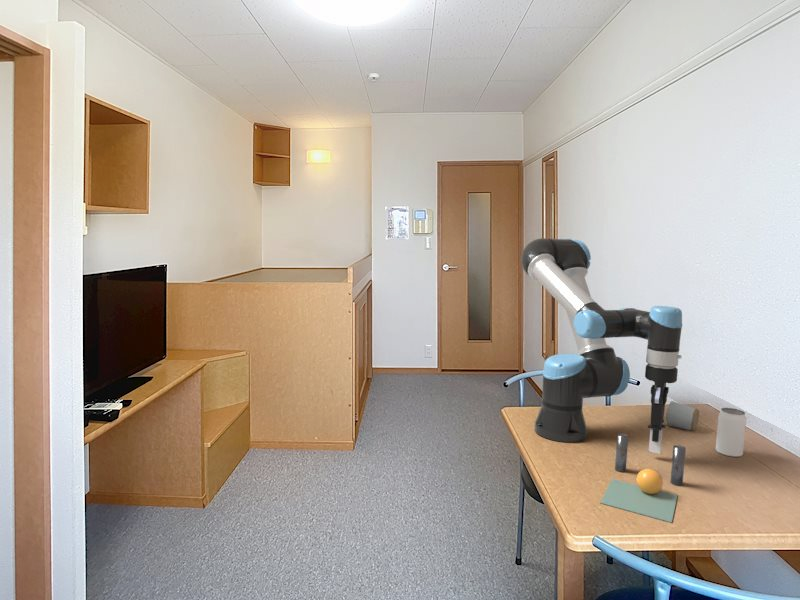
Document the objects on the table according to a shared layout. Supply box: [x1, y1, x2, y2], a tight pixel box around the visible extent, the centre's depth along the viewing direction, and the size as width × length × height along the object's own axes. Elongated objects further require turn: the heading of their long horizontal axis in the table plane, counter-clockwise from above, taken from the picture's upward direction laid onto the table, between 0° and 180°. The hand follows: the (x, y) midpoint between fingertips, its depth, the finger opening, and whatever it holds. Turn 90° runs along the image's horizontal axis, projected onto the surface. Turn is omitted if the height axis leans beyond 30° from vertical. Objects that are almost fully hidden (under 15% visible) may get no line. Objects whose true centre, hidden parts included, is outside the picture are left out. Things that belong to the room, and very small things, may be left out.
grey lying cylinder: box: [665, 400, 700, 431], centre depth 164 cm, size 11×8×8 cm
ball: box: [636, 468, 664, 494], centre depth 118 cm, size 6×6×6 cm
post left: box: [614, 433, 630, 473], centre depth 130 cm, size 3×3×9 cm
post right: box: [670, 444, 687, 487], centre depth 123 cm, size 3×3×9 cm
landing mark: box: [600, 478, 678, 524], centre depth 116 cm, size 14×14×1 cm
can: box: [715, 407, 747, 458], centre depth 143 cm, size 6×6×12 cm
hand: (654, 451), depth 138 cm, fingers closed
